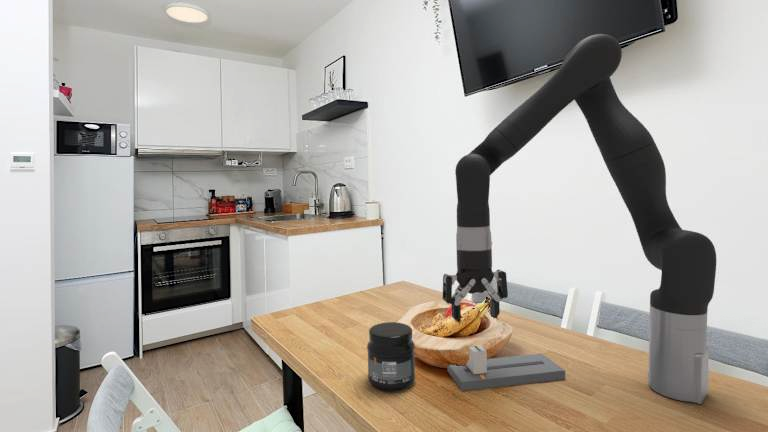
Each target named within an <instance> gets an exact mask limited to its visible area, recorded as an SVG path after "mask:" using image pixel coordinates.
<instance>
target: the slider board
mask: <svg viewBox="0 0 768 432" xmlns="http://www.w3.org/2000/svg"><path fill="white" fill-rule="evenodd" d="M447 373H448V374H449V375H450V377H451V378H452V379H453V381H454V382H455V384H456V385H457V386H458V388H459V389H460V391H461V392H467V391H475V390H483V389H493V388H499V387H500V388H501V387H509V386H519V385H526V384H535V383H544V382H551V381H552V382H555V381H560V380H561V381H562V380H566V370H565V369H564V368H563V367H561V365H559V364H557V363H556V362H554V361H553V360H551V359H550V358H549V357H548V356H546V355H544V354H543V353H541V352H540V353H532V354H523V355H514V356H502V357H494V358H492V357H491V358H487V373H481V374H473V373H472V372H471V370H470V369H469V368H468V367H467V366H456V365H449V366H448V365H447Z"/></svg>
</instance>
